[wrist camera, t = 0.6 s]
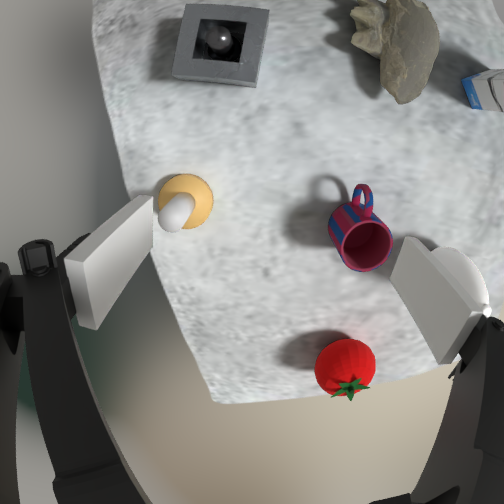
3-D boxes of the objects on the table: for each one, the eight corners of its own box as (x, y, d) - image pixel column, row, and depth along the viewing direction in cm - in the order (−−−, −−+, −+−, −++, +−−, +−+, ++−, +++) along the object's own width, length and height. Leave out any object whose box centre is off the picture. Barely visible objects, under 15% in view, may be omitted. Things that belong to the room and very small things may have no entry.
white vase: (404, 267, 41) (460, 345, 25) (433, 226, 38) (505, 291, 21) (431, 286, 42) (484, 359, 26) (458, 249, 39) (523, 313, 23)
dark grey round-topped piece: (211, 34, 28) (201, 19, 22) (244, 37, 28) (240, 21, 22) (205, 62, 29) (194, 52, 24) (238, 65, 30) (234, 55, 24)
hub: (163, 170, 36) (142, 184, 29) (216, 177, 36) (206, 192, 29) (160, 220, 39) (140, 243, 32) (210, 228, 39) (199, 253, 32)
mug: (324, 246, 40) (335, 270, 34) (334, 174, 35) (350, 187, 29) (368, 249, 40) (385, 273, 34) (381, 181, 35) (404, 195, 29)
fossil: (392, 26, 28) (339, -5, 24) (450, 14, 19) (398, -31, 15) (391, 111, 32) (334, 87, 28) (457, 111, 23) (406, 75, 19)
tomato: (372, 355, 49) (387, 395, 40) (321, 374, 51) (328, 416, 42) (361, 317, 45) (378, 361, 36) (303, 340, 47) (309, 386, 38)
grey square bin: (195, 16, 26) (186, 3, 22) (268, 23, 27) (269, 9, 22) (182, 80, 30) (171, 75, 26) (256, 87, 31) (255, 82, 26)
